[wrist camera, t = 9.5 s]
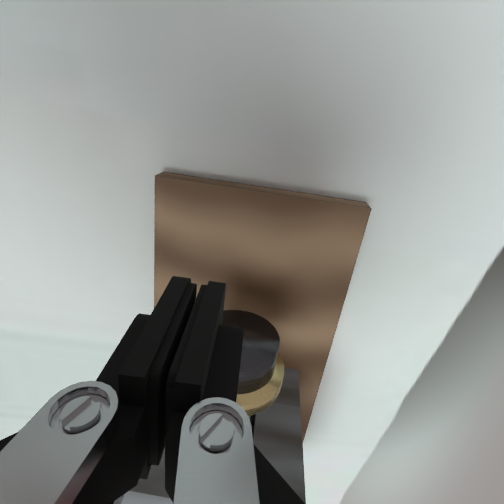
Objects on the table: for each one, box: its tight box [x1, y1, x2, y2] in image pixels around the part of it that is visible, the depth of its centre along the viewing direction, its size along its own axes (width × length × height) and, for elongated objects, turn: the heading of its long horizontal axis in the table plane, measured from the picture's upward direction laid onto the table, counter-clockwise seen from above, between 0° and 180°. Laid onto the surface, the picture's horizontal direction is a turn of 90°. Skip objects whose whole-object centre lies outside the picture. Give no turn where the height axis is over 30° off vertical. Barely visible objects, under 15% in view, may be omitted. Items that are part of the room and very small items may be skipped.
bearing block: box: [121, 172, 371, 504], centre depth 21 cm, size 25×14×12 cm, turn 173°
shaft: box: [222, 310, 284, 419], centre depth 22 cm, size 19×6×6 cm, turn 173°
